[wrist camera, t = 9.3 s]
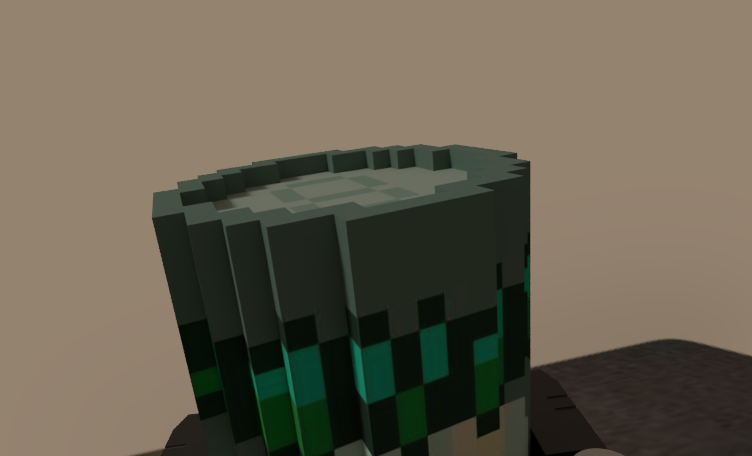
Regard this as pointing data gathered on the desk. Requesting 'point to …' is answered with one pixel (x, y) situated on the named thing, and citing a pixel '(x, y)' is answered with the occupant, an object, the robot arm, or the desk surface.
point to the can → (356, 302)
